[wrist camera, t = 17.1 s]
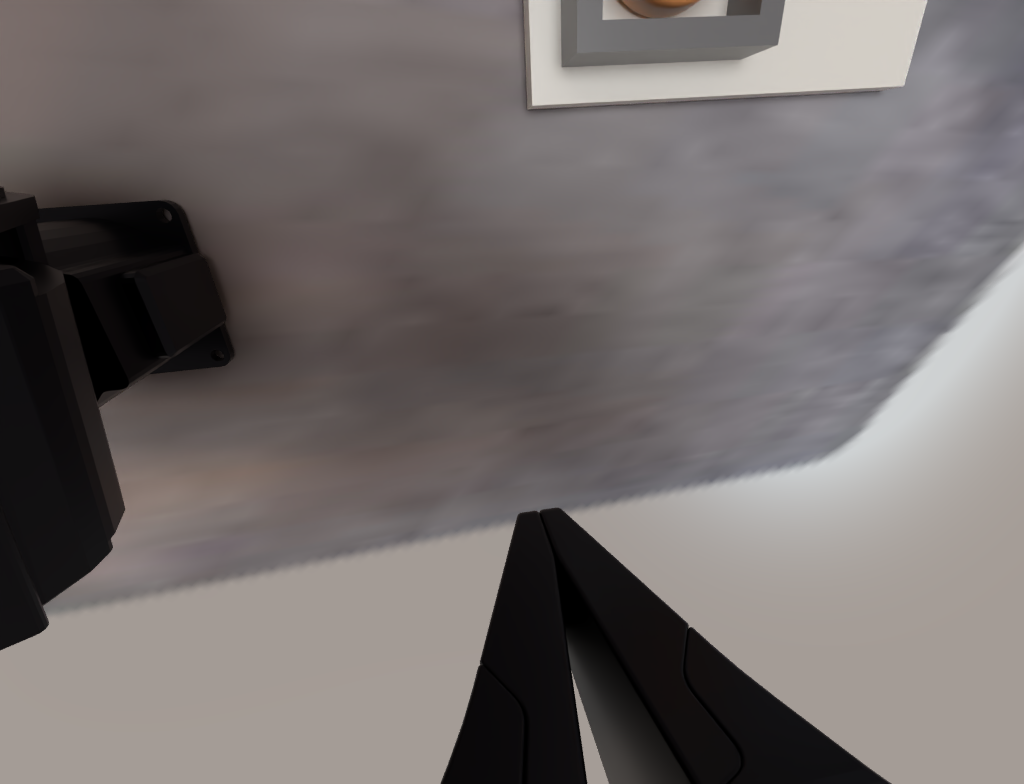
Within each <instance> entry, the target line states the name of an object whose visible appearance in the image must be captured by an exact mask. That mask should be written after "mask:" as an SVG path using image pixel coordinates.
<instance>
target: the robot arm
mask: <svg viewBox="0 0 1024 784" xmlns="http://www.w3.org/2000/svg"><path fill="white" fill-rule="evenodd" d="M164 208H165V209H167V210H168V211H169V212H170V213H171V215H172V220H171V221H167V220H166V219H165V218H164V217H163V215H162V211H163V209H164ZM225 320H226V315H225V312H224V309H223V307H222V304H221V301H220V298H219V295H218V293H217V290H216V287H215V284H214V281H213V279H212V276H211V273H210V270H209V267H208V265H207V262H206V259H205V258H204V257H202V256H201V255H200V254H199V253H198V251H197V248H196V245H195V242H194V239H193V237H192V234H191V231H190V228H189V226H188V223H187V220H186V217H185V215H184V212H183V211H182V209H181V208H180V207H179V206H178V205H177V204H176V203H174V202H172V201H167V200H159V201H145V202H130V203H115V204H101V205H86V206H72V207H57V208H43V209H38V207H37V203H36V199H35V196H34V195H28V194H21V193H14V192H6V191H4V188H3V187H2V186H0V650H2V649H4V648H7V647H9V646H11V645H14V644H16V643H19V642H21V641H23V640H26V639H28V638H30V637H33V636H35V635H37V634H39V633H41V632H42V631H44V630H45V629H46V628H47V626H48V625H49V621H48V618H47V616H46V613H45V611H44V609H43V606H44V605H45V604H46V603H48V602H49V601H51V600H52V599H53V598H55V597H56V596H58V595H59V594H60V593H62V592H63V591H65V590H66V589H67V588H69V587H70V586H72V585H73V584H74V583H76V582H77V581H79V580H80V579H81V578H83V577H84V576H86V575H87V574H88V573H89V572H91V571H92V570H93V569H94V568H95V567H96V566H97V565H98V564H99V563H100V562H101V561H102V560H103V559H104V558H105V557H106V556H107V555H108V554H109V553H110V552H111V550H112V548H113V545H112V542H111V537H112V536H113V535H114V534H115V532H116V530H117V527H118V525H119V523H120V520H121V518H122V516H123V513H124V511H125V506H124V502H123V498H122V493H121V489H120V486H119V482H118V478H117V474H116V471H115V467H114V463H113V459H112V456H111V452H110V448H109V444H108V440H107V437H106V433H105V429H104V425H103V422H102V418H101V414H100V410H99V407H101V406H102V405H104V404H105V403H107V402H108V401H109V400H111V399H112V398H114V397H115V396H117V395H118V394H120V393H121V392H123V391H124V390H126V389H127V388H129V387H130V386H132V385H133V384H135V383H136V382H138V381H139V380H141V379H142V378H144V377H145V376H147V375H148V374H155V373H164V372H174V371H183V370H192V369H202V368H211V367H221V366H225V365H227V364H228V363H229V362H230V361H231V360H232V359H233V357H234V350H233V347H232V345H231V342H230V339H229V336H228V334H227V331H226V328H225V325H224V321H225ZM215 350H219V351H221V352H222V353H223V354H224V358H221V357H219V356H217V355H216V353H215ZM688 627H689V625H688V623H687V622H686V621H684V620H683V619H682V618H681V617H680V616H679V615H678V614H677V613H676V612H675V611H673V610H672V609H671V608H670V607H669V606H668V605H667V604H666V603H665V602H664V601H662V600H661V599H660V598H659V597H658V596H657V595H655V594H654V593H653V592H652V591H651V590H650V589H649V588H648V587H647V586H646V585H645V584H644V583H642V582H641V581H640V580H639V579H638V578H637V577H636V576H635V575H633V574H632V573H631V572H630V571H629V570H628V569H627V568H626V567H625V566H624V565H623V564H621V563H620V562H619V561H618V560H617V559H616V558H615V557H614V556H613V555H611V554H610V553H609V552H608V551H607V550H606V549H605V548H604V547H602V546H601V545H600V544H599V543H598V542H597V541H596V540H595V539H594V538H593V537H592V536H590V535H589V534H588V533H587V532H586V531H585V530H584V529H583V528H582V527H580V526H579V525H578V524H577V523H576V522H575V521H574V520H572V518H570V517H569V516H568V515H567V514H566V513H565V512H564V511H563V510H562V509H560V508H551V509H544V510H541V511H540V513H539V512H537V511H530V512H524V513H520V514H518V516H517V520H516V524H515V528H514V531H513V535H512V539H511V543H510V547H509V551H508V555H507V559H506V563H505V567H504V571H503V574H502V578H501V582H500V586H499V590H498V594H497V598H496V601H495V606H494V609H493V613H492V617H491V621H490V625H489V629H488V633H487V636H486V640H485V644H484V649H483V652H482V656H481V660H480V666H479V667H478V670H477V674H476V678H475V682H474V686H473V689H472V693H471V696H470V700H469V703H468V707H467V710H466V714H465V717H464V720H463V724H462V726H461V729H460V732H459V735H458V738H457V741H456V743H455V746H454V749H453V752H452V755H451V758H450V760H449V763H448V766H447V768H446V771H445V773H444V776H443V779H442V781H441V784H587V779H586V771H585V764H584V758H583V750H582V744H581V736H580V729H579V722H578V715H577V708H576V701H575V694H574V687H573V680H572V673H573V676H574V679H575V682H576V685H577V688H578V691H579V694H580V697H581V700H582V703H583V706H584V709H585V712H586V715H587V718H588V721H589V724H590V727H591V731H592V733H593V736H594V740H595V743H596V746H597V749H598V751H599V755H600V758H601V761H602V764H603V767H604V770H605V772H606V776H607V778H608V781H609V784H891V783H890V782H888V781H887V780H885V779H884V778H882V777H881V776H880V775H878V774H877V773H875V772H874V771H873V770H871V769H870V768H868V767H867V766H866V765H864V764H863V763H862V762H860V761H859V760H858V759H857V758H855V757H854V756H853V755H851V754H850V753H849V752H847V751H846V750H845V749H843V748H842V747H841V746H839V745H838V744H836V743H835V742H834V741H833V740H831V739H830V738H829V737H827V736H826V735H825V734H823V733H822V732H821V731H820V730H818V729H817V728H815V727H814V726H813V725H812V724H810V723H809V722H808V721H806V720H805V719H804V718H802V717H801V716H800V715H798V714H797V713H796V712H794V711H793V710H792V709H790V708H789V707H788V706H786V705H785V704H784V703H783V702H781V701H780V700H779V699H777V698H776V697H774V696H773V695H772V694H771V693H770V692H768V691H767V690H766V689H764V688H763V687H762V686H761V685H759V684H758V683H757V682H755V681H754V680H753V679H752V678H751V677H749V676H748V675H747V674H745V673H744V672H743V671H742V670H740V669H739V668H738V667H737V666H736V665H735V664H733V663H732V662H731V661H730V660H729V659H728V658H726V657H725V656H724V655H723V654H722V653H720V652H719V651H718V650H717V649H716V648H715V647H714V646H713V645H711V644H710V643H709V642H708V641H707V640H706V639H704V637H702V636H701V635H700V634H699V633H698V632H697V631H696V630H695V629H693V628H692V627H690V628H689V629H688ZM571 670H572V673H571Z"/></svg>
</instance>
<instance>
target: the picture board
mask: <svg viewBox="0 0 1024 784" xmlns="http://www.w3.org/2000/svg"><path fill="white" fill-rule="evenodd" d="M926 4H927V0H700V1H699V2H697V3H696V4H694V5H693V6H692V7H690V8H688V9H687V10H685V11H684V12H682V13H680V14H677V15H675V16H671V17H667V18H651V17H646V16H643V15H641V14H639V13H637V12H635V11H633V10H632V9H630V8H629V7H628V6H627V5H626V4H625V3H624V2H623V1H622V0H523V8H524V33H525V59H526V85H527V110H529V109H547V108H566V107H585V106H604V105H622V104H641V103H660V102H678V101H697V100H716V99H735V98H753V97H772V96H791V95H810V94H828V93H847V92H866V91H882V90H887V89H892V88H897V87H902V86H904V84H905V80H906V77H907V73H908V69H909V66H910V62H911V58H912V55H913V51H914V48H915V44H916V40H917V37H918V33H919V29H920V26H921V22H922V18H923V15H924V11H925V7H926Z"/></svg>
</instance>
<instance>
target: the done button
mask: <svg viewBox="0 0 1024 784" xmlns="http://www.w3.org/2000/svg"><path fill="white" fill-rule="evenodd" d="M622 1H623V2H624V3H625V4H626V5H627V6H628V7H629V8H630V9H632V10H633V11H635V12H637V13H639V14H641V15H643V16H646V17H651V18H667V17H671V16H675V15H677V14H680V13H682V12H684V11H685V10H687V9H688V8H690V7H692V6H693V5H694V4H696V3H697V2H699V1H700V0H622Z"/></svg>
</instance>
